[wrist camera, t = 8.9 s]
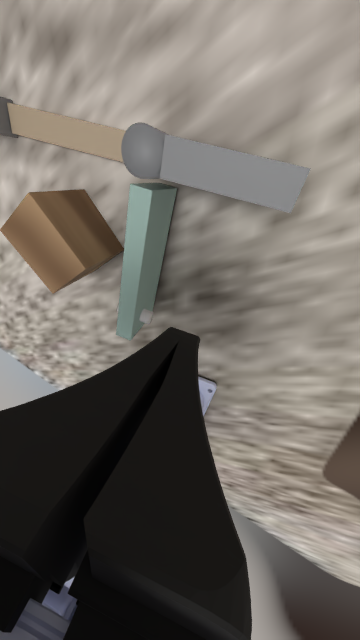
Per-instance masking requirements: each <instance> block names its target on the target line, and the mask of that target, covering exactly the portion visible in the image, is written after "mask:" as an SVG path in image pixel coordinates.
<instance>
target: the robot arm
mask: <svg viewBox="0 0 360 640" xmlns="http://www.w3.org/2000/svg"><path fill="white" fill-rule="evenodd" d="M199 343H200V338H199V337H198V336H196V335H193V334H190V333H187V332H184V331H182V330H179V329H176V328H173V327H170V328H168V329H167V330H166V331H165V332H163V333H162V334H161V335H160V336H158V337H157V338H156V339H154V340H153V341H152V342H150V343H149V344H147V345H146V346H145V347H143V348H142V349H140V350H139V351H137V352H136V353H134V354H133V355H131V356H129V357H128V358H126V359H124V360H123V361H121V362H119V363H118V364H116V365H114V366H112V367H110V368H109V369H107V370H105V371H103V372H101V373H99V374H97V375H95V376H93V377H91V378H88V379H86V380H84V381H82V382H79V383H77V384H75V385H73V386H70V387H68V388H65V389H63V390H60V391H58V392H55V393H52V394H50V395H47V396H44V397H41V398H38V399H36V400H33V401H30V402H28V403H25V404H21V405H18V406H16V407H12V408H9V409H6V410H2V411H0V640H251V631H252V617H251V598H250V587H249V578H248V570H247V562H246V557H245V553H244V550H243V548H242V545H241V542H240V539H239V537H238V534H237V531H236V529H235V526H234V523H233V520H232V517H231V514H230V511H229V509H228V506H227V503H226V499H225V496H224V493H223V490H222V487H221V484H220V481H219V477H218V474H217V470H216V467H215V463H214V459H213V456H212V452H211V448H210V445H209V441H208V436H207V432H206V427H205V423H204V417H203V416H204V414H205V412H206V410H207V408H208V406H209V404H210V401H211V399H212V397H213V395H214V393H215V391H216V387H217V385H216V384H215V383H214V382H212V381H209V380H207V379H204V378H201V377H199V376H198V348H199ZM210 389H211V390H210Z"/></svg>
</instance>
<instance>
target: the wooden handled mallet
mask: <svg viewBox="0 0 360 640" xmlns="http://www.w3.org/2000/svg"><path fill="white" fill-rule="evenodd" d="M0 135H5V136H11V137H17V138H18V135H21V136H24V137H28V138H32V139H36V140H40V141H44V142H47V143H51V144H55V145H59V146H63V147H67V148H70V149H74V150H78V151H82V152H86V153H90V154H93V155H97V156H101V157H105V158H109V159H113V160H116V161H120V162H124V164H125V166H126V168H127V169H128V171H129V172H130V173H131V174H132V175H134V176H135V177H138V178H141V179H164V180H167V181H171V182H175V183H179V184H183V185H186V186H190V187H194V188H198V189H201V190H205V191H209V192H213V193H216V194H220V195H224V196H228V197H232V198H235V199H239V200H243V201H247V202H250V203H254V204H258V205H262V206H266V207H269V208H273V209H277V210H281V211H284V212H288V213H291V211H292V209H293V207H294V205H295V203H296V200H297V198H298V196H299V194H300V191H301V189H302V187H303V185H304V182H305V180H306V178H307V176H308V173H309V171H310V169H311V168H306V167H302V166H298V165H294V164H289V163H285V162H281V161H277V160H272V159H268V158H264V157H260V156H255V155H251V154H247V153H243V152H239V151H234V150H230V149H226V148H222V147H217V146H213V145H209V144H205V143H200V142H196V141H192V140H188V139H183V138H179V137H175V136H171V135H169V134H167V133H165V132H163V131H160V130H158V129H156V128H154V127H152V126H150V125H148V124H146V123H135V124H133V125H131V126H130V127H129V128H128V129H127V130H126V131H124V130H120V129H116V128H111V127H107V126H103V125H99V124H95V123H91V122H86V121H82V120H78V119H74V118H70V117H66V116H61V115H57V114H53V113H49V112H45V111H41V110H36V109H32V108H28V107H24V106H20V105H15V104H12V100H10V99H6V98H3V97H0Z"/></svg>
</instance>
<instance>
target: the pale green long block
mask: <svg viewBox="0 0 360 640" xmlns="http://www.w3.org/2000/svg"><path fill="white" fill-rule="evenodd" d="M176 191H177V188H175V187H171V186H168V185H165V184H162V183H139V184H130V192H129V203H128V213H127V224H126V235H125V245H124V256H123V267H122V278H121V288H120V299H119V304H118V306H117V312H118V320H117V331H116V335H118V336H121V337H123V338H126V339H128V340H131V339H132V338H133V337H134V336H135V335H136V333H137V332H138V331H139V330H140V328H141V327H142V326H143V325H144V323H146V324H150V322H151V320H152V318H153V314H154V313H153V312H152V311H153V306H154V301H155V296H156V291H157V286H158V281H159V276H160V271H161V266H162V261H163V256H164V251H165V246H166V241H167V236H168V231H169V226H170V221H171V216H172V211H173V206H174V201H175V196H176Z"/></svg>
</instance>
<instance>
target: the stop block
mask: <svg viewBox="0 0 360 640" xmlns="http://www.w3.org/2000/svg"><path fill="white" fill-rule="evenodd" d="M0 231H1V232H2V233H3V234H4V236H5V237H6V238H7V239H8V240H9V242H10V243H11V244H12V245H13V246H14V248H15V249H16V250H17V251H18V252H19V254H20V255H21V256H22V257H23V258H24V260H25V261H26V262H27V263H28V264H29V266H30V267H31V268H32V269H33V270H34V272H35V273H36V274H37V275H38V276H39V278H40V279H41V280H42V281H43V282H44V284H45V285H46V286H47V287H48V288H49V290H50V291H51V292H52V293H55V292H57V291H59V290H60V289H62V288H64V287H66V286H68V285H70V284H71V283H73V282H75V281H77V280H79V279H81V278H82V277H84V276H86V275H88V274H90V273H92V272H93V271H95V270H96V269H98V268H99V267H101V266H102V265H103V264H105V263H106V262H108V261H109V260H110V259H112V258H113V257H115V256H116V255H117V254H119V253H120V252H121V251H123V250H124V248H123V247H122V245H121V244H120V242H119V241H118V239H117V238H116V236H115V235H114V233H113V232H112V230H111V229H110V227H109V226H108V224H107V223H106V221H105V220H104V218H103V217H102V215H101V214H100V212H99V211H98V209H97V208H96V206H95V205H94V203H93V202H92V200H91V199H90V197H89V196H88V194H87V193H86V191H85V190H84V189H83V190H65V191H47V192H29V193H28V194H27V195H26V197H25V198H24V199H23V200H22V202H21V203H20V204H19V206H18V207H17V208H16V210H15V211H14V212H13V213H12V215H11V216H10V217H9V219H8V220H7V221H6V223H5V224H4V225H3V227H2V228H1V229H0Z"/></svg>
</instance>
